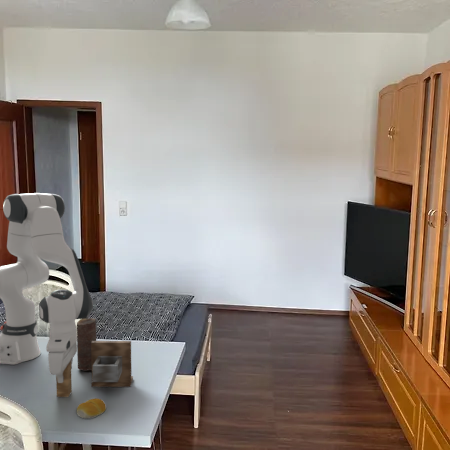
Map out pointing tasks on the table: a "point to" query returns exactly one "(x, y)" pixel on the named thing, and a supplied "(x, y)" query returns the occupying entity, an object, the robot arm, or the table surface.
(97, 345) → the bracket
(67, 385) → the wooden block
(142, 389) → the table surface
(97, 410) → the bread roll
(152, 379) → the table surface
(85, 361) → the brown rough cylinder
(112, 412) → the table surface
